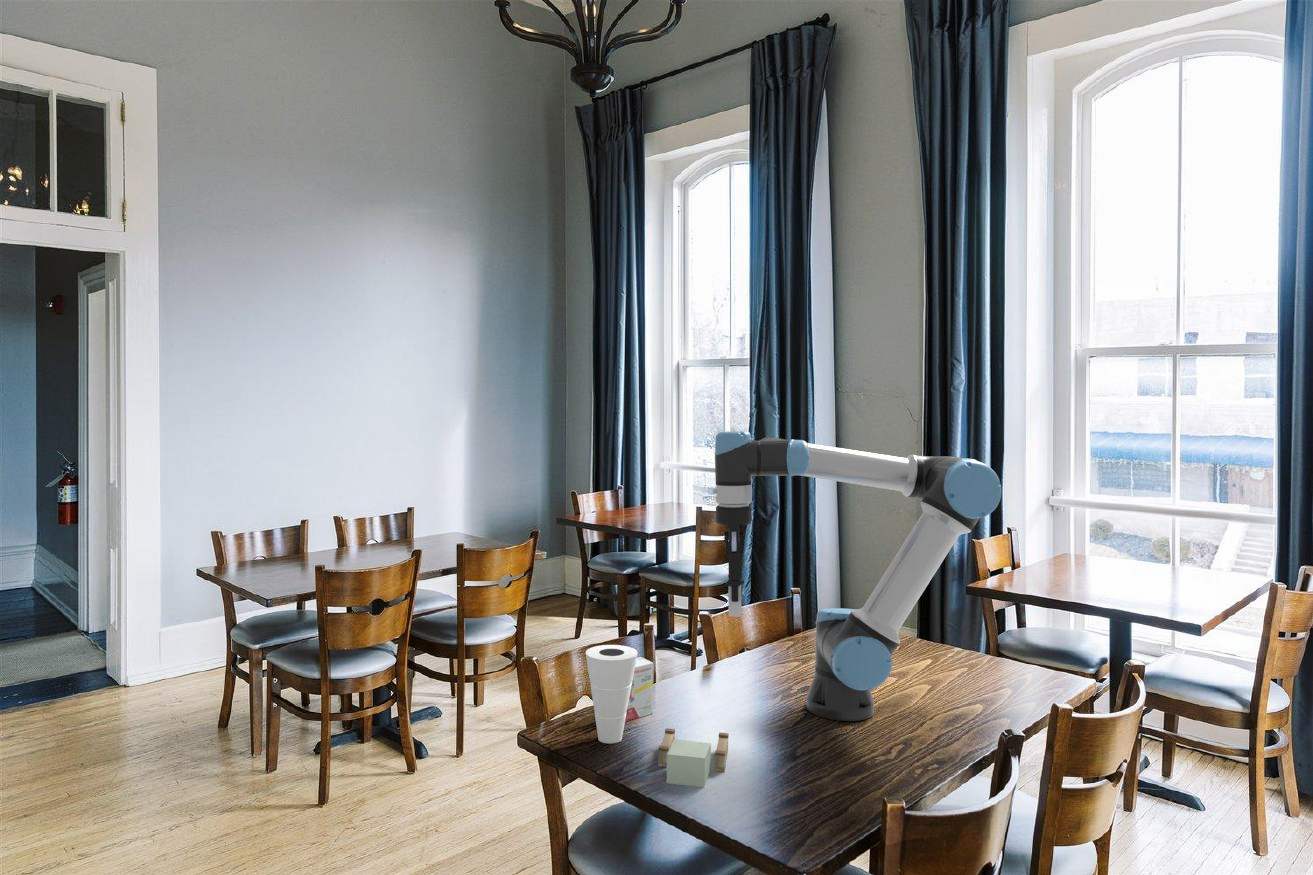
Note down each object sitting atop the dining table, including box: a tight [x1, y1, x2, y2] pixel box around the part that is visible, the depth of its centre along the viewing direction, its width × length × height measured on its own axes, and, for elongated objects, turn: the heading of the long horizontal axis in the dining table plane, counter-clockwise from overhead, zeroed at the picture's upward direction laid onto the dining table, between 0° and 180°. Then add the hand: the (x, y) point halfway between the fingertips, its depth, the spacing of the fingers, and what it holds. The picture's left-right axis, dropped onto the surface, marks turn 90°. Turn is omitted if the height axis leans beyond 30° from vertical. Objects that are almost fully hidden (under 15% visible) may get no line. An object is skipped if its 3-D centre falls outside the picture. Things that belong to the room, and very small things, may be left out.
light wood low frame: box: [657, 727, 729, 773], centre depth 164 cm, size 13×10×4 cm
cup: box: [585, 644, 639, 745], centre depth 173 cm, size 11×11×18 cm
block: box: [666, 738, 712, 788], centre depth 156 cm, size 7×7×6 cm
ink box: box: [625, 656, 655, 723], centre depth 186 cm, size 9×5×12 cm, turn 130°
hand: (735, 615), depth 178 cm, fingers closed
